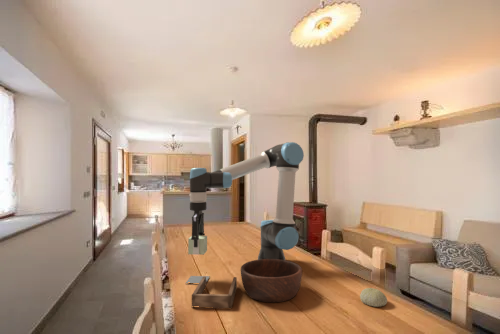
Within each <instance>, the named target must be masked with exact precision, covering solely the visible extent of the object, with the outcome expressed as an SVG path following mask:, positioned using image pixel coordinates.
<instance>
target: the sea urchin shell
mask: <svg viewBox="0 0 500 334" xmlns="http://www.w3.org/2000/svg"><path fill="white" fill-rule="evenodd" d="M359 298H360V301H361V302H362V303H363V304H364V305H366V306H367V305H368V306H370V307H377V308H381V307H384V306H385V305H386V304H387V303H388V299H387V296H386V294H384V293H383V291H381V290H379V289H377V288H372V287H366V288H364V289H362V290H361V293H360V295H359Z"/></svg>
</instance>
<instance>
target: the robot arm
mask: <svg viewBox="0 0 500 334" xmlns="http://www.w3.org/2000/svg"><path fill="white" fill-rule="evenodd" d="M304 157H305V155H304V149H303V147H301V145H300V144H298V143H297V142H293V141H292V142H291V141H290V142H285V143H281V144H276V145H274V146H272V147H271V148H268V149H266V150H264V151H262V152H260V154H258V155H255V156H252V157H250V158H247V159H244V160H243V161H242V160H241V161H239V162H237V163H234V164H231V165H228V166H225V167H223V168H220V169H217V170H215V171H211V172H210V171H207V168H205V167H193V168H191V169H190V171H189V194H188V196H189V201H190V202H189V210H190V211H193V214H192V216H191V236H192V238H191V240H193V254H192V255H197V256H199V235H203V236H206V235H205V234H206V233H205V221H204V218H205V213H204V212H203V211H206V210H207V200H208V199H207V198H208V196H207V195H208V194H207V189H229V188H231V187H232V184H233V180H236V179H238V178H241V177H244V176H246V175H250V174H252V173H254V172H257V171H260V170H262V169H264V168H265V169H271V168H273V167H275V168H276V170H277V171H278V180H277V193H276V194H277V197H276V212H275V218H274V219H265V220H261V222H260V249H259V253H258V255H257V260H259V259H280V260H286V256H285V253H284V251H289V250H291V249H293V248H294V247H295V246H297V244H298V242H299V236H300V235H299V231H298V230H297V229H296V222H295V220H294V218H293V217H294V202H295V201H294V200H295V185H296V173H297V171H298V170H299V169H300V164H301V163H302V162H303V160H304Z"/></svg>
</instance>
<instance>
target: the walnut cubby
mask: <svg viewBox="0 0 500 334" xmlns="http://www.w3.org/2000/svg"><path fill="white" fill-rule="evenodd" d="M237 279H238V278H237V276H234V277H233V278H232V282H231V285H230V287H229V291H228V294H227V293H226V294H221V293H217V294H215V293H212V294H211V293H204V292H205V290H206V288H205V287H207V283H206V277H203V278H202V279H201V281H200V283H199V284H197V286H196V288H195V289H194V291H193V292H192V294H191V307H192V306H199V307H213V308H212V309H223V308H231V309H232V308H233V305H234V299H235V295H236V292H237V287H238V286H237V284H238V283H237ZM204 289H205V290H204ZM203 291H204V292H203ZM202 293H203V294H202Z"/></svg>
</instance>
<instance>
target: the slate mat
mask: <svg viewBox="0 0 500 334" xmlns="http://www.w3.org/2000/svg"><path fill="white" fill-rule="evenodd" d="M203 277H206V282H207V283H208V281H209V280H210V278H211V276H210V275H209V276H208V275H190V277H189V278H188V279H187V280H186V282H185V284H186V283H188V282H190V283H200V281H201V279H202V278H203ZM209 277H210V278H209ZM208 279H209V280H208Z"/></svg>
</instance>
